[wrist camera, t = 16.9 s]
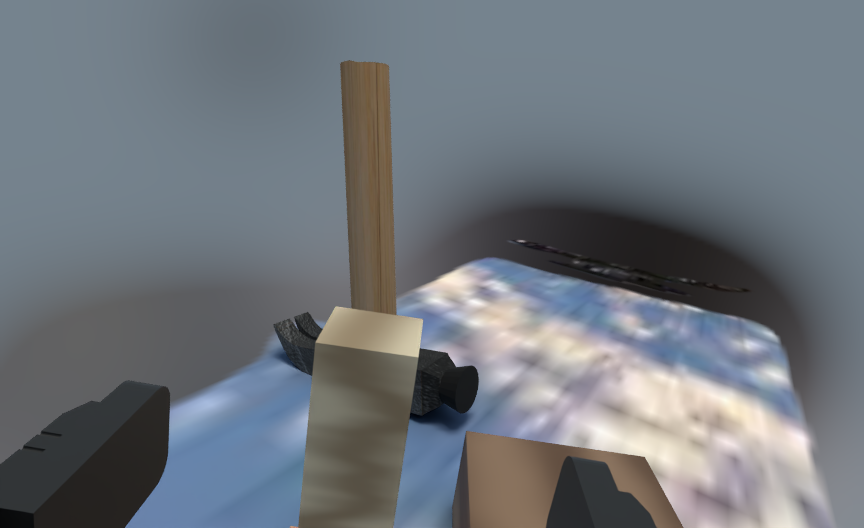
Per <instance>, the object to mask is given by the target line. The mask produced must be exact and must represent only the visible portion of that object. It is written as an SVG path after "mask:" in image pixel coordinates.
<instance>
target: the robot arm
mask: <svg viewBox="0 0 864 528" xmlns="http://www.w3.org/2000/svg"><path fill="white" fill-rule="evenodd" d="M169 413H170V393H169V390H168V388H167V387H164V386H158V385H153V384H146V383H141V382H134V381H125V382H123V383H122V384H121V385H119V386H118V387H117V388H116V389H115V390H114V391H113V392H112V393H110V394H109V395H108V396H107V397H106V398H104V399H103V400H102V401H101V402H94V401H90V402H88V403H86V404H84V405H81V406H79V407H77V408H75V409H72V410H70V411H68V412H66V413H64V414H62V415H61V416H59V417H58V418H57V419H56V420H54V421H53V422H52V423H51V424H50V425H48V426H47V427H46V428H45V429H43V430H42V431H41V434H40V435H36V436H35V437H34V438H32V439H31V440H30V441H29V442H27V443H26V444H25V445H24V447H23V449H22V450H20V449H19V450H18V451H16V452H15V453H14V454H13V455H11V456H10V457H9V458H8V459H6V460H5V461H4V462H3V463H2V464H0V528H125V527H126V525H127V524H128V523H129V521H130V520H131V519H132V517H133V516H134V515H135V513H136V512H137V511H138V509H139V508H140V507H141V506H142V504H143V503H144V502H145V500H146V499H147V498H148V496H149V495H150V494H151V492H152V491H153V490H154V488H155V487H156V486H157V484H158V482H159V481H160V479H161V477H162V474H163V472H164V469H165V466H166V462H167V457H168V441H169ZM546 528H657V527H656V525H655V523H654V521H653V518H652V516H651V514H650V513H649V512H648V511H647V510H646V509H645V508H644V507H643V505H642V504H641V503H640V502H639V501H638V500H637V499H636V498H635V497H634V496H633V495H632V494H631V493H628V492H622V491H619V490H618V488H617V486H616V483H615V481H614V479H613V476H612V474H611V471H610V469H609V467H608V465H607V464H606V463H605V462H602V461H596V460H590V459H584V458H578V457H572V456H567V457H566V458H565V460H564V462H563V465H562V468H561V471H560V475H559V479H558V482H557V486H556V489H555V493H554V496H553V500H552V504H551V507H550V511H549V514H548V518H547V523H546Z"/></svg>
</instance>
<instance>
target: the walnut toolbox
mask: <svg viewBox="0 0 864 528" xmlns="http://www.w3.org/2000/svg"><path fill="white" fill-rule="evenodd" d="M567 456H572V457H578V458H584V459H590V460H596V461H602V462H605V463H606V464H607V465H608V467H609V469H610V471H611V474H612V476H613V479H614V481H615V483H616V486H617V488H618V490H619V491H622V492H628V493H631V494H632V495H633V496H634V497H635V498H636V499H637V500H638V501H639V502H640V503H641V504H642V505H643V507H644V508H645V509H646V510H647V511H648V512H649V513H650V514H651V516H652V518H653V521H654V523H655V525H656V527H657V528H683V526H682V524H681V522H680V521H679V519H678V517H677V515H676V513H675V511H674V510H673V508H672V506H671V504H670V502H669V500H668V499H667V497H666V495H665V493H664V491H663V490H662V488H661V486H660V484H659V482H658V480H657V479H656V477H655V475H654V473H653V471H652V470H651V468H650V466H649V464H648V462H647V460H646V459H645V457H641V456H634V455H627V454H620V453H614V452H607V451H600V450H593V449H586V448H579V447H572V446H566V445H559V444H552V443H545V442H538V441H531V440H524V439H517V438H511V437H504V436H497V435H490V434H483V433H476V432H469V431H466V435H465V440H464V446H463V451H462V457H461V462H460V468H459V473H458V479H457V484H456V490H455V495H454V501H453V506H452V528H546V523H547V518H548V514H549V511H550V507H551V504H552V500H553V496H554V493H555V489H556V486H557V482H558V479H559V475H560V471H561V468H562V465H563V462H564V460H565V458H566V457H567Z"/></svg>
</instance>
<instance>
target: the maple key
mask: <svg viewBox="0 0 864 528" xmlns="http://www.w3.org/2000/svg"><path fill="white" fill-rule="evenodd" d="M422 324H423V319H419V318H412V317H405V316H398V315H391V314H385V313H378V312H371V311H364V310H357V309H349V308H343V307H335V309H334V310H333V312H332V314H331V316H330V318H329V319H328V321H327V323H326V325H325V326H324V328H323V330H322V332H321V333H320V335H319V337H318V339H317V341H316V342H315V352H314V363H313V374H312V385H311V396H310V407H309V417H308V428H307V439H306V450H305V461H304V472H303V483H302V493H301V504H300V515H299V526H298V528H393V525H394V518H395V512H396V505H397V498H398V491H399V485H400V478H401V471H402V465H403V458H404V451H405V444H406V438H407V431H408V424H409V418H410V411H411V404H412V397H413V391H414V384H415V377H416V371H417V364H418V357H419V349H420V341H421V333H422Z"/></svg>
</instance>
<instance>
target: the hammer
mask: <svg viewBox="0 0 864 528" xmlns="http://www.w3.org/2000/svg"><path fill="white" fill-rule="evenodd" d="M340 67H341V89H342V109H343V110H342V112H343V131H344V132H343V133H344V154H345V176H346V198H347V220H348V240H349V262H350V284H351V304H352V309H357V310H364V311H371V312H378V313H385V314H391V315H396V282H395V251H394V217H393V185H392V153H391V121H390V88H389V66H388V65H387V64H383V63H375V62H354V61H350V60H349V61H344V62H341V64H340ZM294 318H295V322H296V324H297V327H298V329H299V330H298V329H297V328H296V327H295V325H294V324H293V322H292V321H291V320H290V319H287V320H284V321H282V322H279V323H276V324H274V328H275V331H276V333H277V335H278V337H279V340H280V342H281V344H282V346H283V348H284V350H285V352H286V354H287V355H288V357H289V358H290V360H291V361H292V362H293V363H294V365H295V366H296V367H297V368H299V369H300V370H301V371H302V372H304V373H306V374H309V375H311V376H312V374H313V363H314V352H315V342H316V341H317V339H318V337H319V335H320V333H321V332H322V330H323V329H322V328H320V327H319V326H318V325H317V324H316V323H315V321H314V320H313V319H312V317H311V315H310V314H309V313H308V312H307V313H304V314H301V315H298V316H295V317H294ZM478 382H479V379H478V372H477V369H476V368H475V367H474V366H464V367H456V366H455V364H454V363H453V361H452V360H451V359H450V357H449V355H448V353H444V352H438V351H433V350H427V349H421V348H420V349H419V357H418V364H417V371H416V377H415V384H414V391H413V397H412V404H411V411H410V413H414V414H418V415H424V414H425V413H427V412H429V411H432V410H434V409H436V408H438V407H440V406H441V405H442V404H446V405H448V406H449V407H451V408H453V409H454V410H456V411H458V412H459V413H466V412H467V411H468V410H469V409H470V408H471V406H472V404H473V403H474V400H475V397H476V395H477V390H478Z"/></svg>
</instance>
